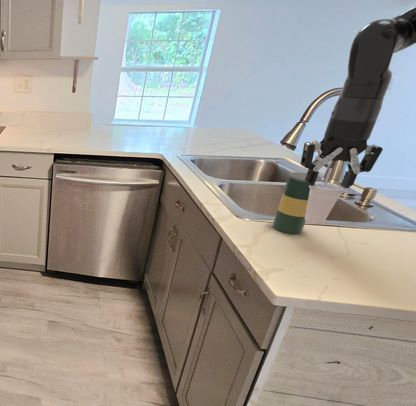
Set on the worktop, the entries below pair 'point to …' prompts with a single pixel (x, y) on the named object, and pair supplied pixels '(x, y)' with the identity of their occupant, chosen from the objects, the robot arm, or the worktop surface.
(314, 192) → the smoothie
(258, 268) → the worktop surface
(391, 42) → the robot arm
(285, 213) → the tin can
